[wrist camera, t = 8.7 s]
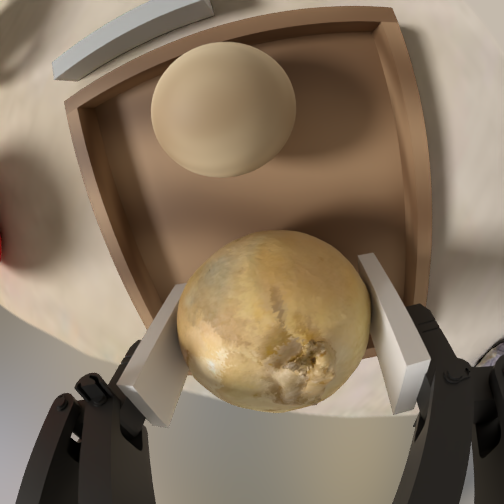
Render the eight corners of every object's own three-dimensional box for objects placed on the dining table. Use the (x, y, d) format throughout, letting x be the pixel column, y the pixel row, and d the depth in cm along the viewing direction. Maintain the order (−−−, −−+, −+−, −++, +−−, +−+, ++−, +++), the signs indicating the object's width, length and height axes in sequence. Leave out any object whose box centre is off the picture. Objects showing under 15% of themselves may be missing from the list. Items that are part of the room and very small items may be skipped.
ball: (170, 80, 10) (109, 62, 6) (277, 49, 9) (273, 2, 5) (197, 178, 12) (148, 210, 8) (304, 154, 11) (319, 171, 7)
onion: (340, 345, 15) (361, 450, 9) (207, 344, 16) (177, 446, 9) (361, 213, 12) (438, 302, 5) (188, 213, 12) (108, 300, 6)
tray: (86, 101, 11) (64, 101, 9) (378, 21, 8) (391, 7, 6) (182, 355, 18) (174, 375, 16) (408, 326, 15) (418, 345, 13)
